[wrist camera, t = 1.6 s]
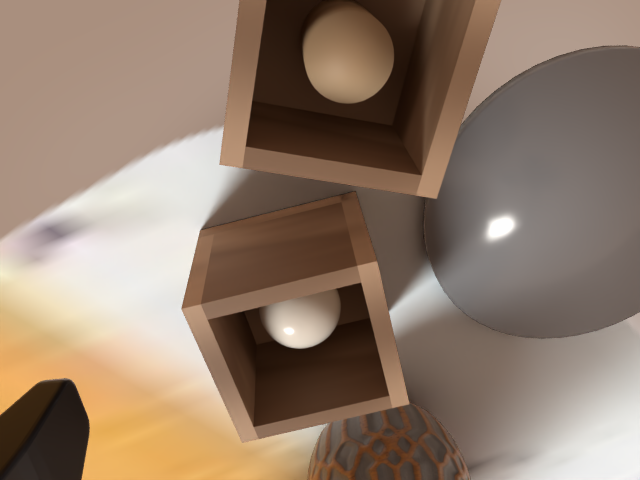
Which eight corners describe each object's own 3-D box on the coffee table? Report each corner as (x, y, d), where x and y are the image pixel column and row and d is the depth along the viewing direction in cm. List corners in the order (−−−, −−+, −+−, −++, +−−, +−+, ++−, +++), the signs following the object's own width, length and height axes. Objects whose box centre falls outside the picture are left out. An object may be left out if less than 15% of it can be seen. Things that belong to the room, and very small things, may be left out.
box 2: (384, 316, 24) (409, 404, 19) (247, 349, 24) (242, 442, 20) (355, 191, 21) (377, 261, 17) (200, 230, 21) (181, 308, 17)
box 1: (400, 139, 20) (436, 198, 16) (231, 109, 19) (219, 164, 15) (452, -47, 17) (513, -38, 13) (257, -92, 16) (251, -98, 12)
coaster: (687, 315, 25) (695, 324, 25) (419, 342, 25) (422, 351, 24) (777, 31, 19) (791, 34, 19) (427, 60, 19) (431, 63, 18)
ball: (338, 311, 23) (346, 361, 20) (264, 318, 23) (262, 370, 20) (334, 247, 21) (343, 292, 19) (255, 255, 21) (252, 300, 19)
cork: (377, 74, 18) (394, 99, 16) (303, 80, 18) (308, 106, 16) (375, -6, 17) (393, 7, 14) (296, 0, 17) (301, 14, 14)
